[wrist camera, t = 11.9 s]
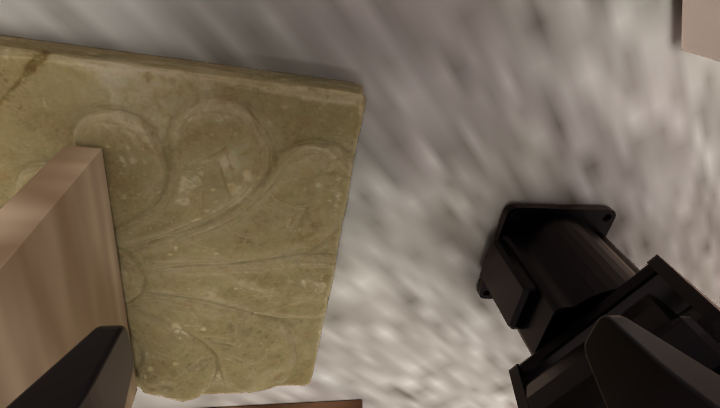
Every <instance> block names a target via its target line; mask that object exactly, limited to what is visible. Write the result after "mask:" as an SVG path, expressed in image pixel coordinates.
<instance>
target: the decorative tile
mask: <svg viewBox="0 0 720 408" xmlns="http://www.w3.org/2000/svg"><path fill="white" fill-rule="evenodd" d="M365 101H366V99H365V96H364V94H363V87H362V86H361V85H359V84H357V83H353V82H346V81H339V80H332V79H325V78H317V77H310V76H303V75H295V74H288V73H280V72H273V71H265V70H258V69H250V68H243V67H236V66H229V65H221V64H213V63H206V62H199V61H191V60H183V59H176V58H168V57H161V56H153V55H146V54H138V53H130V52H123V51H115V50H108V49H100V48H93V47H85V46H78V45H70V44H63V43H55V42H47V41H40V40H32V39H26V38H19V37H12V36H5V35H0V209H1V208H2V207H3V206H4V205H5V204H6V203H7V202H8V201H9V200H10V199H11V198H12V197H13V196H14V195H15V194H16V193H17V192H18V191H19V190H20V189H21V188H22V187H23V186H24V185H25V184H26V183H27V182H28V181H29V180H30V179H32V178H33V177H34V176H35V175H36V174H37V173H38V172H39V171H40V170H41V169H42V168H43V167H44V166H45V165H46V164H47V163H48V162H49V161H50V160H51V159H52V158H53V157H54V156H55V155H56V154H57V153H58V152H59V151H60V150H61V149H62V148H63V147H64V146H65V145H68V146H79V147H91V148H102V152H103V159H104V166H105V173H106V180H107V187H108V193H109V200H110V207H111V214H112V221H113V228H114V235H115V241H116V248H117V255H118V262H119V269H120V276H121V282H122V289H123V296H124V303H125V310H126V317H127V324H128V330H129V337H130V344H131V349H132V353H133V358H134V372H135V378H136V385H137V386H138V387H140V388H141V389H142V391H143V392H144V393H148V394H151V395H156V396H162V397H165V398H169V399H173V400H177V401H181V402H184V401H188V400H192V399H195V398H197V397H199V396H200V395H201V394H217V393H228V394H229V393H243V392H248V393H251V392H256V391H262V390H266V389H270V388H272V387H275V386H281V385H301V386H305V385H308V384H310V381H311V378H312V374H313V370H314V365H315V361H316V355H317V350H318V346H319V341H320V335H321V330H322V324H323V320H324V316H325V312H326V308H327V304H328V299H329V294H330V290H331V286H332V281H333V277H334V270H335V264H336V258H337V251H338V245H339V239H340V233H341V227H342V223H343V219H344V216H345V211H346V206H347V200H348V194H349V188H350V181H351V174H352V168H353V162H354V157H355V151H356V146H357V141H358V136H359V133H360V129H361V123H362V117H363V113H364V110H365Z"/></svg>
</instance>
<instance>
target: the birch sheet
mask: <svg viewBox="0 0 720 408" xmlns="http://www.w3.org/2000/svg"><path fill="white" fill-rule="evenodd" d="M109 325H122V326H124V327H126V329H127V331H128V335H129V330H128V324H127V317H126V310H125V303H124V296H123V289H122V282H121V276H120V269H119V262H118V255H117V248H116V241H115V235H114V228H113V221H112V214H111V207H110V200H109V193H108V187H107V180H106V173H105V166H104V159H103V152H102V148H91V147H79V146H68V145H65V146H64V147H63V148H62V149H61V150H60V151H59V152H58V153H57V154H56V155H55V156H54V157H53V158H52V159H51V160H50V161H49V162H48V163H47V164H46V165H45V166H44V167H43V168H42V169H41V170H40V171H39V172H38V173H37V174H36V175H35V176H34V177H33V178H32V179H30V180H29V181H28V182H27V183H26V184H25V185H24V186H23V187H22V188H21V189H20V190H19V191H18V192H17V193H16V194H15V195H14V196H13V197H12V198H11V199H10V200H9V201H8V202H7V203H6V204H5V205H4V206H3V207H2V208H1V209H0V408H6V407H7V406H8V405H9V404H10V403H11V402H12V401H14V400H15V399H16V398H17V397H18V396H19V395H20V394H21V393H23V392H24V391H25V390H26V389H27V388H28V387H29V386H31V385H32V384H33V383H34V382H35V381H36V380H37V379H38V378H40V377H41V376H42V375H43V374H44V373H45V372H46V371H47V370H49V369H50V368H51V367H52V366H53V365H54V364H55V363H56V362H58V361H59V360H60V359H61V358H62V357H63V356H64V355H65V354H67V353H68V352H69V351H70V350H71V349H72V348H73V347H75V346H76V345H77V344H78V343H79V342H80V341H81V340H82V339H84V338H85V337H86V336H87V335H88V334H89V333H90V332H91V331H93V330H94V329H95V328H97V327H99V326H109ZM129 340H130V337H129ZM136 391H137V385H136V378H135V372H134V366H133V372H132V377H131V381H130V386H129V390H128V395H127V399H126V404H125V408H131V407H132V404H133V401H134V398H135V395H136Z"/></svg>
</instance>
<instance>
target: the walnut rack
mask: <svg viewBox="0 0 720 408" xmlns="http://www.w3.org/2000/svg"><path fill="white" fill-rule="evenodd" d="M217 408H362V401H361V400H349V401H330V402H311V403H292V404H273V405H255V406H236V407H217Z"/></svg>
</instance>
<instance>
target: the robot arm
mask: <svg viewBox="0 0 720 408" xmlns="http://www.w3.org/2000/svg"><path fill="white" fill-rule="evenodd" d="M516 211H517V212H516ZM513 212H516V213H515V214H514V215H511V214H512V213H513ZM605 215H606V216H605ZM615 216H616V214H615V212H614V211H613V210H612V209H611V208H610V207H607V206H580V205H547V204H510V205H508V206H507V207H506V208H505V209H504V211H503V214H502V217H501V220H500V223H499V226H498V229H497V232H496V234H495V237H494V240H493V241H492V242H491V245H490V248H489V250H488V253H487V256H486V259H485V262H484V265H483V268H482V271H481V274H480V275H481V278H480V281H479V284H478V287H477V291H478V293H479V295H480V297H481V298H484V299H494V301H495V303H496V305H497V306H498V308H499V310H500V312H501V314H502V316H503V317H504V319H505V321H506V323H507V325H508V326H509V327H510V328H511V329H517V330H518V332H519V333H520V335H521V337H522V339H523V340H524V342H525V344H526V346H527V348H528V349H529V351H530V353H531V356H530V357H529V358H527V359H526V360H525V361H523V362H522V363H521V364H520V365H519V364H516V365H515V366H514V367H513V368H511V369H510V370H509V374H510V378H511V381H512V385H513V389H514V393H515V397H516V401H517V405H518V408H720V308H719V307H718V306H716V305H715V304H714V303H713V302H712V301H711V300H710V299H709V298H707V297H706V296H705V295H704V294H703V293H702V292H700V291H699V290H698V289H697V288H696V287H695V286H693V285H692V284H691V283H690V282H689V281H688V280H686V279H685V278H684V277H683V276H682V275H681V274H679V273H678V272H677V271H676V270H675V269H674V268H672V267H671V266H670V265H669V264H668V263H667V262H665V261H664V260H663V259H662V258H661V257H660V256H658V255H656V256H654V257H653V258H652V259H651V260H649V261H648V262H647V263H648V265H647V266H645V267H644V268H643V269H641V270H639V269H638V268H637V267H636V266H635V265H634V264H633V263H632V262H631V261H630V260H629V259H628V258H627V257H626V256H625V255H624V254H623V253H622V252H621V251H619V250H618V249H617V248H616V247H615V246H614V245H613V244H612V243H611V242H610V241H609V240H608V239H607V238H606V235H607V233H608V231H609V229H610V227H611V225H612V223H613V221H614V219H615ZM487 289H488V290H487ZM485 290H486V291H485ZM133 366H134V358H133V353H132V349H131V344H130V340H129V335H128V331H127V329H126V327H124V326H122V325H109V326H99V327H97V328H95V329H94V330H93V331H91V332H90V333H89V334H88V335H87V336H86V337H85V338H84V339H82V340H81V341H80V342H79V343H78V344H77V345H76V346H75V347H73V348H72V349H71V350H70V351H69V352H68V353H67V354H65V355H64V356H63V357H62V358H61V359H60V360H59V361H58V362H56V363H55V364H54V365H53V366H52V367H51V368H50V369H49V370H47V371H46V372H45V373H44V374H43V375H42V376H41V377H40V378H38V379H37V380H36V381H35V382H34V383H33V384H32V385H31V386H29V387H28V388H27V389H26V390H25V391H24V392H23V393H21V394H20V395H19V396H18V397H17V398H16V399H15V400H14V401H12V402H11V403H10V404H9V405H8V406H7V407H6V408H125V404H126V399H127V395H128V390H129V386H130V381H131V377H132V372H133Z"/></svg>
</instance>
